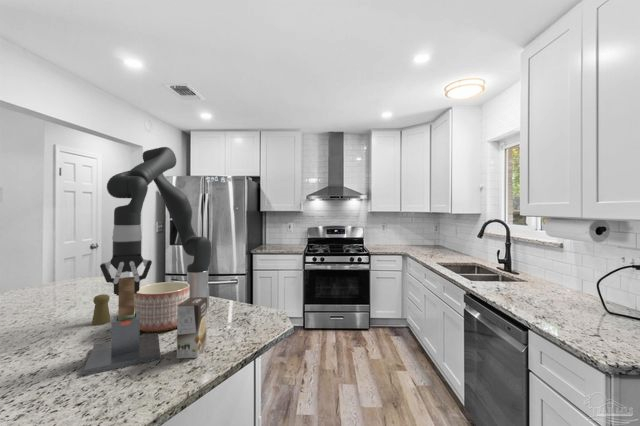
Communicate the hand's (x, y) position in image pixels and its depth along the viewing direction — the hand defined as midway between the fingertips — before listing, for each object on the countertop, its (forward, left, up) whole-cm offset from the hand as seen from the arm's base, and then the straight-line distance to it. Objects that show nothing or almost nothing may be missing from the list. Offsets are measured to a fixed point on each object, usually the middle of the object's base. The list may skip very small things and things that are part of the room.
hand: (126, 293), depth 90 cm
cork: (+10, -36, -19) cm, 42 cm away
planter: (-11, -21, -19) cm, 30 cm away
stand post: (0, 0, -11) cm, 11 cm away
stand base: (0, 0, -19) cm, 19 cm away
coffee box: (-18, +9, -19) cm, 28 cm away
